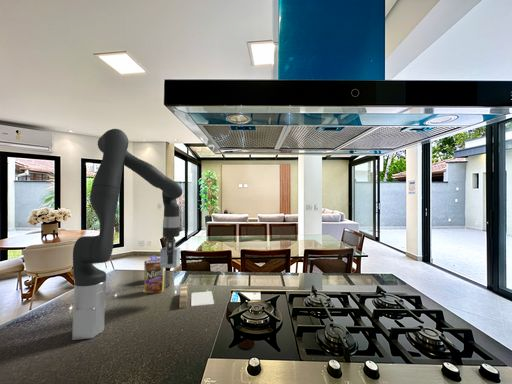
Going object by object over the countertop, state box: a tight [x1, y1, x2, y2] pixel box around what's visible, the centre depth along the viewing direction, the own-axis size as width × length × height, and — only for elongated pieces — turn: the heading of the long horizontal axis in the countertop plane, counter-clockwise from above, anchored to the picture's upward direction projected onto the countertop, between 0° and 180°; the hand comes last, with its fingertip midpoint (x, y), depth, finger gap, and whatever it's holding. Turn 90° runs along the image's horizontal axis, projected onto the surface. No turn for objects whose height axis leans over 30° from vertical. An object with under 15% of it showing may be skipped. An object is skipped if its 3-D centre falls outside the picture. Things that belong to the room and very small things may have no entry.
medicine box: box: [159, 246, 181, 269], centre depth 113 cm, size 8×4×9 cm, turn 86°
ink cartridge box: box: [143, 254, 160, 283], centre depth 142 cm, size 10×6×14 cm, turn 148°
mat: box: [190, 291, 215, 308], centre depth 116 cm, size 16×10×1 cm, turn 14°
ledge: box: [178, 283, 189, 309], centre depth 114 cm, size 16×3×5 cm, turn 14°
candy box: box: [143, 260, 166, 294], centre depth 125 cm, size 9×4×15 cm, turn 98°
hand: (170, 262), depth 113 cm, fingers closed on medicine box, 5 cm apart
